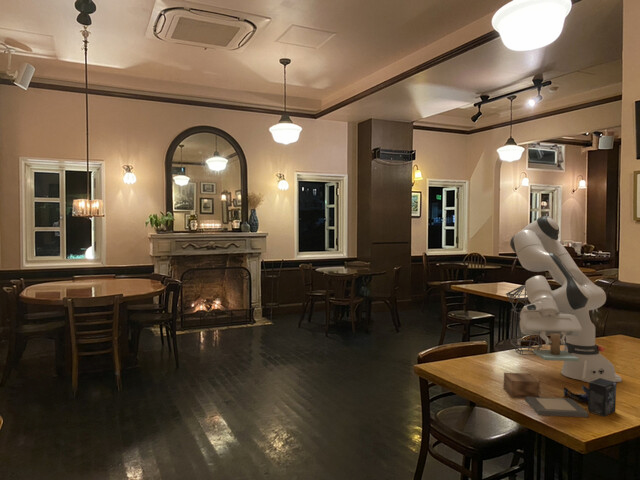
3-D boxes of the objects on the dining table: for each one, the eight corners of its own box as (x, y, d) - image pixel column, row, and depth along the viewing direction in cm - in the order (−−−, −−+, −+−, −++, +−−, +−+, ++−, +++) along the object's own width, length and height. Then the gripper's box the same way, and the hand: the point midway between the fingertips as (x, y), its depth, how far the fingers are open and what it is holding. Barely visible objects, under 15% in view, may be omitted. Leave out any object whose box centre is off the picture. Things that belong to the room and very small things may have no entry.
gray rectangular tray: (571, 402, 168) (571, 398, 168) (588, 417, 155) (588, 412, 155) (525, 400, 170) (525, 396, 170) (538, 415, 157) (538, 410, 157)
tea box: (530, 388, 182) (530, 373, 182) (539, 397, 172) (539, 382, 172) (503, 387, 183) (503, 372, 183) (511, 396, 173) (511, 381, 173)
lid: (564, 353, 166) (565, 331, 166) (578, 361, 155) (578, 337, 155) (533, 352, 167) (533, 330, 167) (544, 360, 156) (544, 336, 156)
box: (605, 417, 155) (605, 386, 155) (587, 411, 160) (588, 381, 160) (616, 412, 159) (616, 381, 159) (598, 406, 164) (599, 377, 164)
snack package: (581, 393, 178) (556, 396, 175) (584, 378, 177) (559, 380, 174) (608, 410, 167) (582, 413, 164) (611, 394, 166) (586, 396, 162)
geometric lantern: (547, 358, 225) (547, 287, 224) (513, 357, 227) (513, 287, 226) (536, 349, 241) (535, 282, 239) (504, 348, 243) (504, 282, 241)
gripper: (572, 317, 172) (584, 350, 162) (515, 316, 174) (523, 348, 164) (577, 307, 167) (590, 340, 157) (519, 306, 169) (528, 338, 160)
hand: (555, 344), depth 161 cm, fingers closed on lid, 3 cm apart
